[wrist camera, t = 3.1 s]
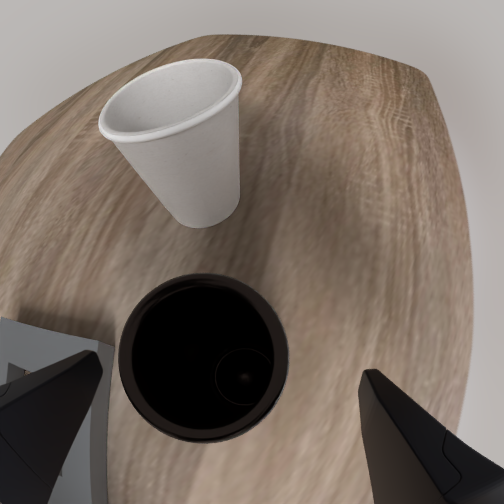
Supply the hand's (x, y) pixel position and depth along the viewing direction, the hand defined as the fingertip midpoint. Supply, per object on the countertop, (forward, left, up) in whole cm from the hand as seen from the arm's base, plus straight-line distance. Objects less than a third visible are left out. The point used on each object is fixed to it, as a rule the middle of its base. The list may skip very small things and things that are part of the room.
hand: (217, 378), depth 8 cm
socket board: (-8, +15, -8) cm, 19 cm away
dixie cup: (+13, +4, -8) cm, 16 cm away
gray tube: (0, 0, -8) cm, 8 cm away
